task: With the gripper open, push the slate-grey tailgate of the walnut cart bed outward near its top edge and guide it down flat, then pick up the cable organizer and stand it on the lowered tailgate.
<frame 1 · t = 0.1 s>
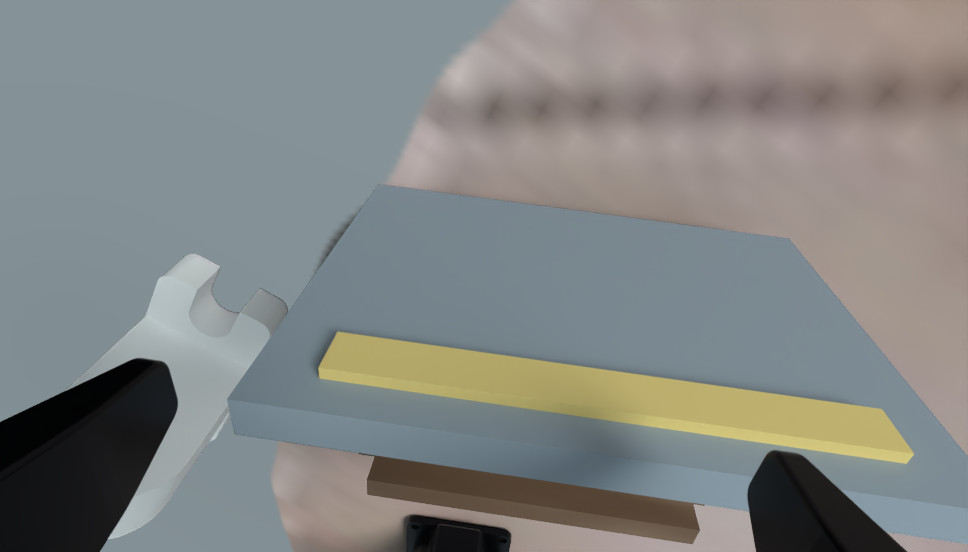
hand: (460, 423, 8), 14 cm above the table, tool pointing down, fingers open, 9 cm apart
cart bed: (549, 328, 25), on the table
cable organizer: (212, 340, 28), on the table
tailgate: (589, 305, 15), point 8 cm above the table, hinge at 0.0°
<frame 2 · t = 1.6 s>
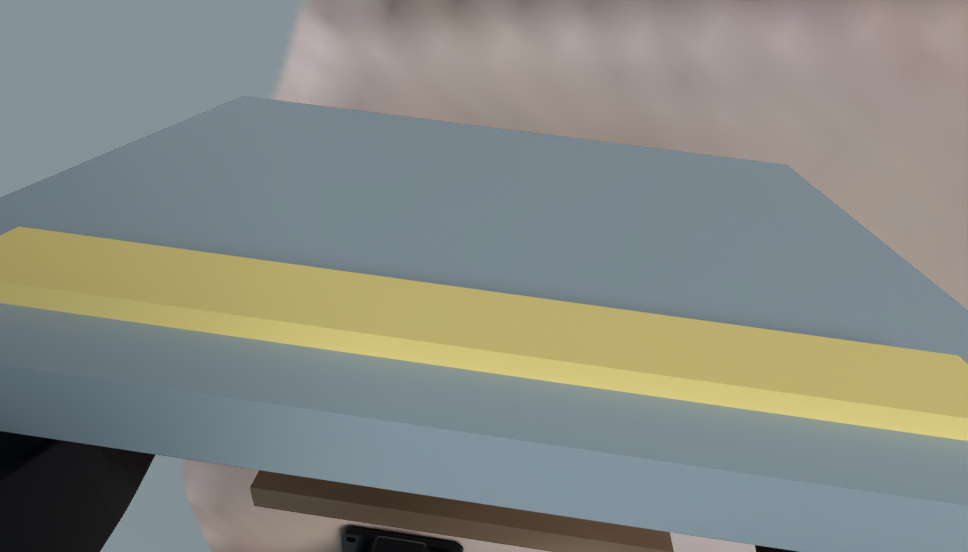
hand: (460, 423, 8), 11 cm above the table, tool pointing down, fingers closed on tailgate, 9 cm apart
cart bed: (490, 298, 20), on the table
tailgate: (491, 224, 10), point 7 cm above the table, hinge at 2.1°, touching gripper
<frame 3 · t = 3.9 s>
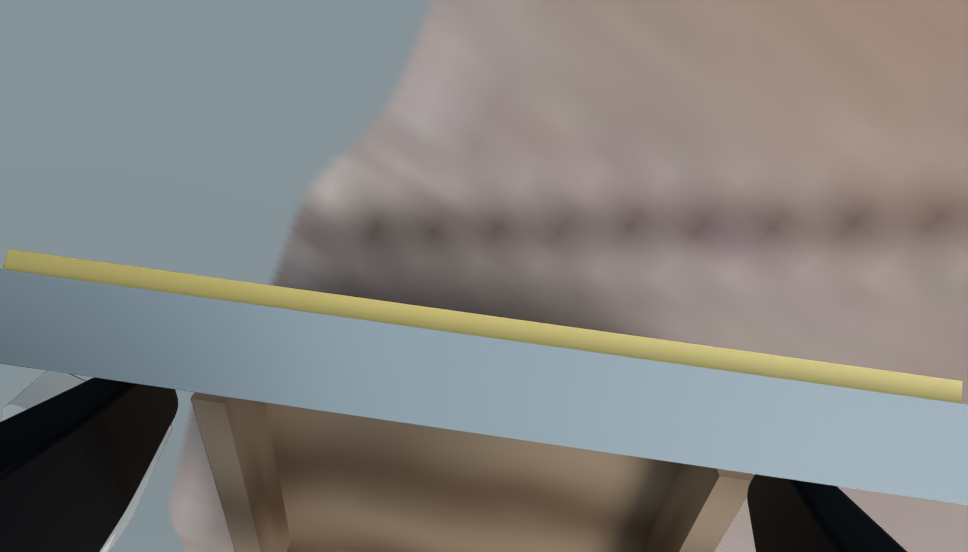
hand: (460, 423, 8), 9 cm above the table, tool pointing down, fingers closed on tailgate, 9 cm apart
cart bed: (469, 454, 21), on the table
cable organizer: (96, 451, 24), on the table
tailgate: (474, 361, 11), point 6 cm above the table, hinge at 41.6°, touching gripper
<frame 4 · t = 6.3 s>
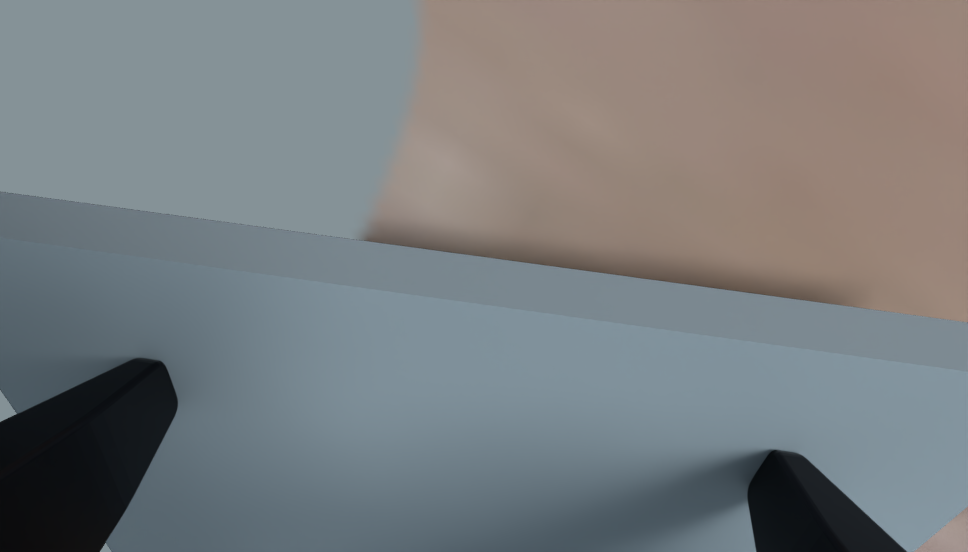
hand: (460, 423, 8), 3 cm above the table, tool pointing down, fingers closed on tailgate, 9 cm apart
tailgate: (454, 498, 10), point 2 cm above the table, hinge at 85.9°, touching gripper
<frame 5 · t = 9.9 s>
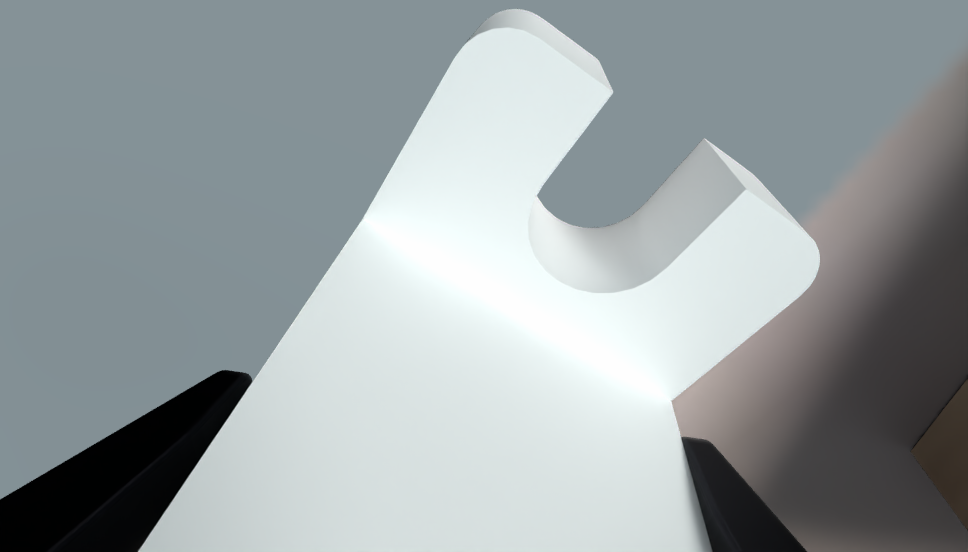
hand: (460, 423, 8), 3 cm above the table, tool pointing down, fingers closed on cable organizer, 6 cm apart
cable organizer: (474, 315, 10), on the table, touching gripper
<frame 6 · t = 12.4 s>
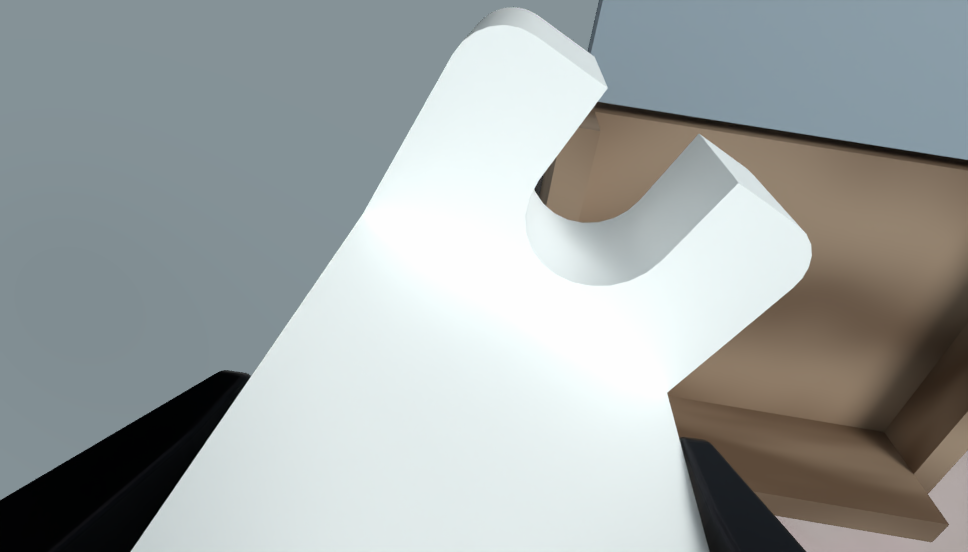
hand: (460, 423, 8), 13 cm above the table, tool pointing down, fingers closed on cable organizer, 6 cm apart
cart bed: (737, 276, 20), on the table
cable organizer: (474, 309, 10), point 10 cm above the table, touching gripper
when the fingers open (6 cm above the table, at t = 14.9 s): cable organizer stays where it is, resting on tailgate.
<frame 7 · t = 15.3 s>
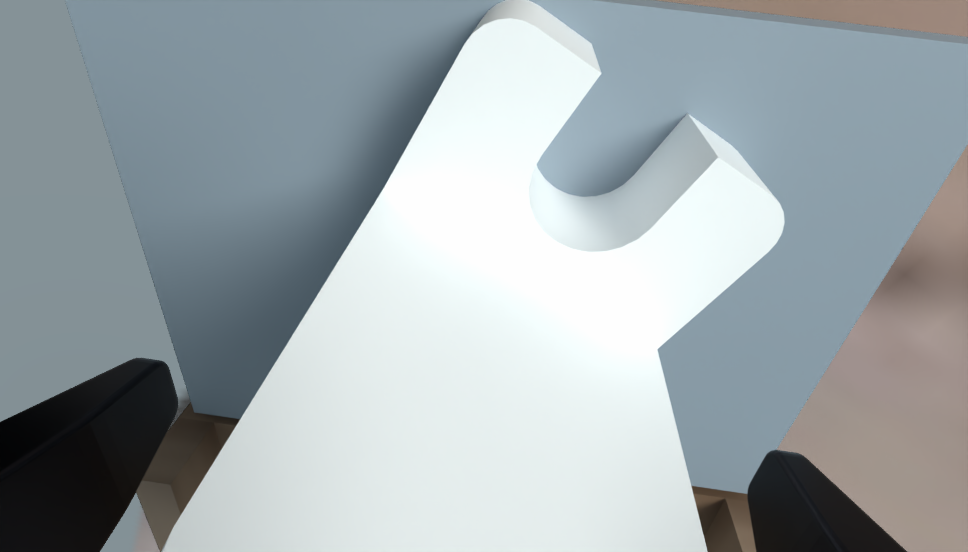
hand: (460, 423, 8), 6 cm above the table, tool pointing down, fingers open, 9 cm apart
cart bed: (460, 518, 19), on the table
cable organizer: (482, 278, 11), point 2 cm above the table, touching tailgate
tailgate: (488, 268, 12), point 2 cm above the table, hinge at 88.0°, touching cable organizer
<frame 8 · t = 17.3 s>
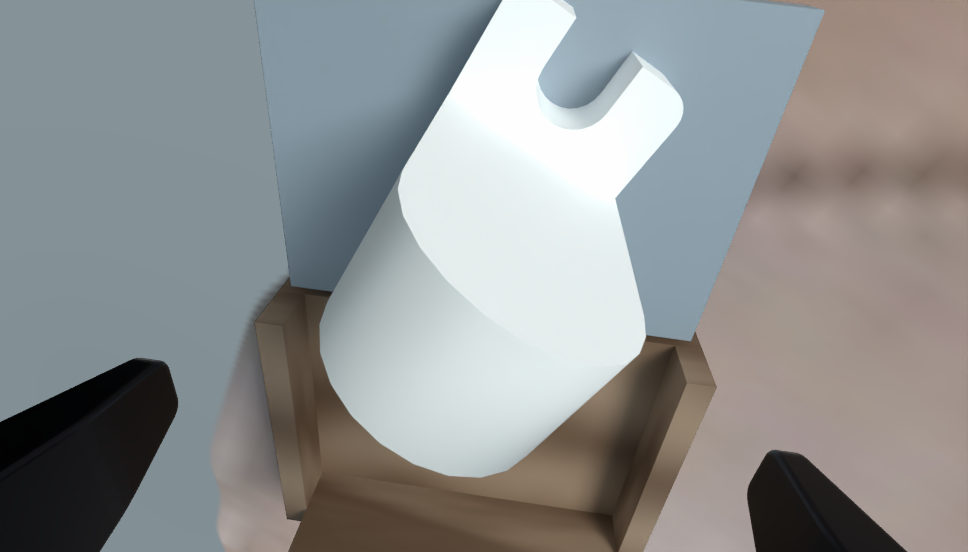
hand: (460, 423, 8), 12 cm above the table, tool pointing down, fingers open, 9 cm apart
cart bed: (479, 392, 25), on the table
cable organizer: (502, 171, 17), point 2 cm above the table, touching tailgate
tailgate: (506, 167, 17), point 1 cm above the table, hinge at 88.5°, touching cable organizer
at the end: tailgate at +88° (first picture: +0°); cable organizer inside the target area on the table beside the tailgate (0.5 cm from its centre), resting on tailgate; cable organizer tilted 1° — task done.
